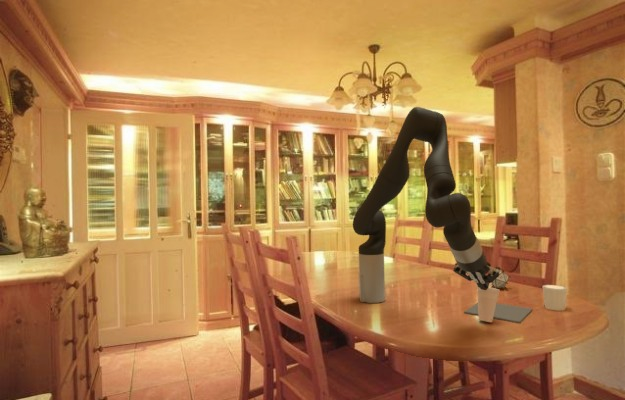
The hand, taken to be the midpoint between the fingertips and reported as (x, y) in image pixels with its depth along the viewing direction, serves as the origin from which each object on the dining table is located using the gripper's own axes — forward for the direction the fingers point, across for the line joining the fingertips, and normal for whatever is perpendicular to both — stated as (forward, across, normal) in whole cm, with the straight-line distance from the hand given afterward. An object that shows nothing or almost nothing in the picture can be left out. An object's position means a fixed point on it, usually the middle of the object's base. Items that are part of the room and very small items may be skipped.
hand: (484, 287), depth 108 cm
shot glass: (+28, -12, -12) cm, 33 cm away
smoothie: (+8, 0, +7) cm, 10 cm away
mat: (+17, 0, -2) cm, 17 cm away
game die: (+40, +10, -24) cm, 48 cm away
